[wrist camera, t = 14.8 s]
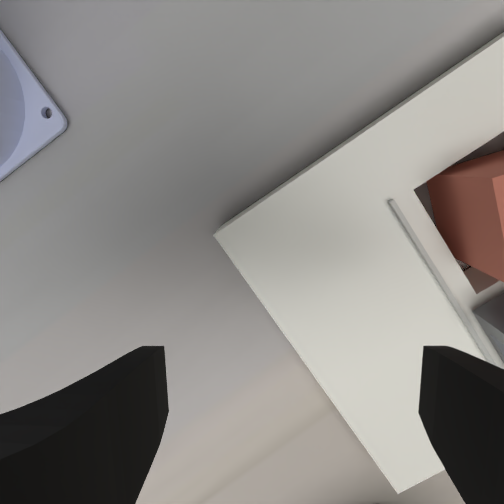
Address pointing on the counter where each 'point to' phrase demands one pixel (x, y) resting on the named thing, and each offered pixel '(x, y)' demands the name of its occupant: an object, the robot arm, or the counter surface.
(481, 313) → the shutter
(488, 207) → the plug
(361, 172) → the socket board
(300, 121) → the counter surface
